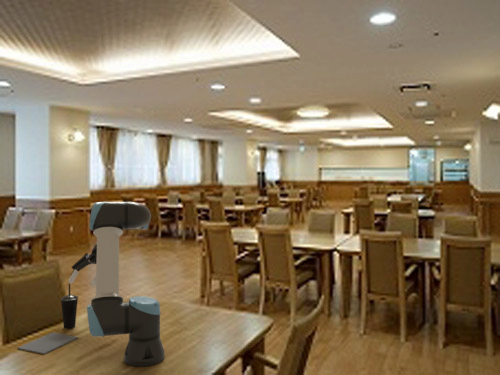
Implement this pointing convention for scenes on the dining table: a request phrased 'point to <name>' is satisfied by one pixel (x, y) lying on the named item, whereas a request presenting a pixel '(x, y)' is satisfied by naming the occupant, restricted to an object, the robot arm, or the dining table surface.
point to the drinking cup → (69, 310)
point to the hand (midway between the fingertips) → (81, 283)
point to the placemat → (48, 343)
